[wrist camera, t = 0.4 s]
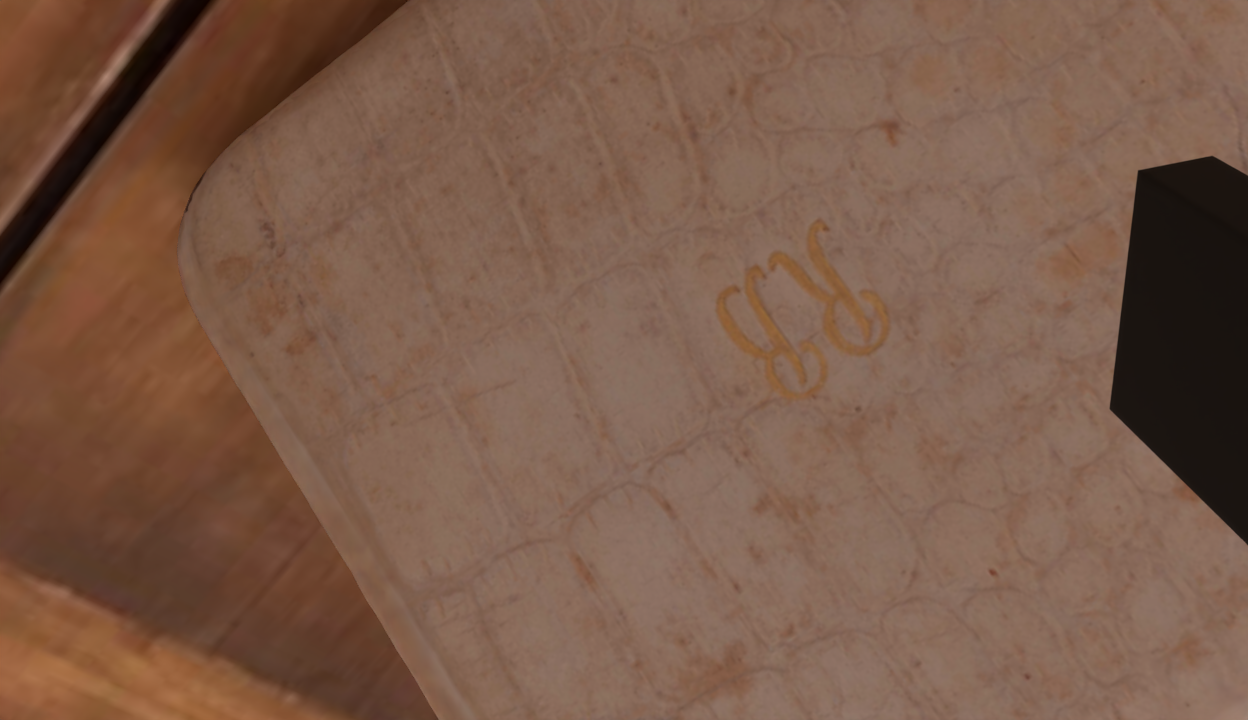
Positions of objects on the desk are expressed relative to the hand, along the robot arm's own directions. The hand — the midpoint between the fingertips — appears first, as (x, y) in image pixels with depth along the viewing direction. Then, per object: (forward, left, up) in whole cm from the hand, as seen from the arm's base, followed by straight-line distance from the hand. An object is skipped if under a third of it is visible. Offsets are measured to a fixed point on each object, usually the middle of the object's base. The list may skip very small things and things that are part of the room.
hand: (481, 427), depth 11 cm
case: (+7, +7, -19) cm, 21 cm away
